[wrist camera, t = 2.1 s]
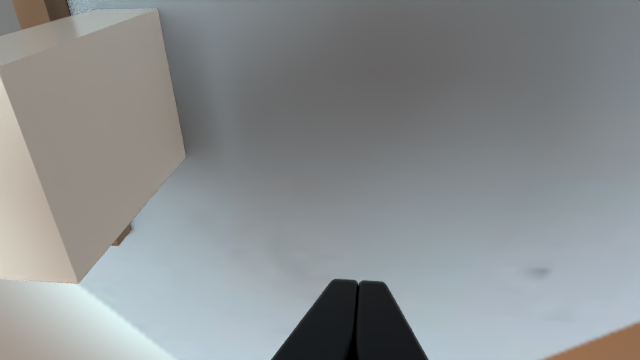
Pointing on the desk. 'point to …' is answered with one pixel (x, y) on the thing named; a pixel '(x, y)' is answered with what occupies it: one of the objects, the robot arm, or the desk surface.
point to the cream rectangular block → (81, 138)
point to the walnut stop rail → (39, 8)
